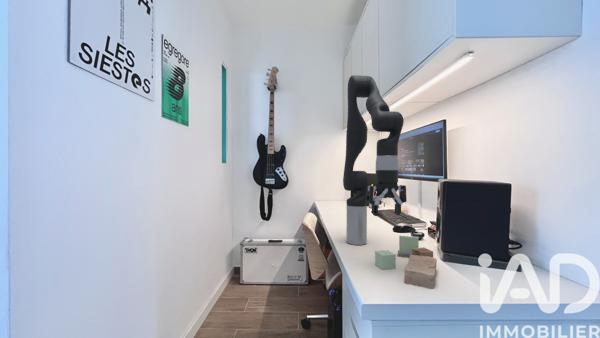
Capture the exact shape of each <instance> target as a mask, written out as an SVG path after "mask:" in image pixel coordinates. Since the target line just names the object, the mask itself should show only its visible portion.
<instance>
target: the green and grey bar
mask: <svg viewBox="0 0 600 338" xmlns="http://www.w3.org/2000/svg"><path fill="white" fill-rule="evenodd" d="M419 239H420V237H419V236H409V235H400V234H399V236H398V241H399V242H398V245H399V249H398V251H397V257H399V258H408V259H409V258H410V255H412V248H420V247H419V245H420V244H419Z"/></svg>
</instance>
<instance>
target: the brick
mask: <svg viewBox="0 0 600 338" xmlns="http://www.w3.org/2000/svg"><path fill="white" fill-rule="evenodd" d="M437 265H438V264H437V258H436V257H434V256H433V257H428V256H418V255H410V258H408V261H407V262H406V265H405V267H404V283H405V284H407V285H411V286H417V287H421V288H425V289H434V287H435V280H436V273H437Z"/></svg>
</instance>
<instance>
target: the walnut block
mask: <svg viewBox="0 0 600 338" xmlns="http://www.w3.org/2000/svg"><path fill="white" fill-rule="evenodd" d="M412 255H418V256H428V257H433V258H434V251H433V250H431V249H429V248H426V247H419V248H412Z"/></svg>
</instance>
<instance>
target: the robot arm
mask: <svg viewBox="0 0 600 338" xmlns="http://www.w3.org/2000/svg"><path fill="white" fill-rule="evenodd" d="M358 98H361V99H362V98H364V99H366V100H365V108H366V111H367V112H368V114H369V115H370V118H371V119H370V120H371V127H372V129H373V130H374V131H375V132H378V133H380V132H381V133H382V132H383V133H389V134H388V137H386V138H385V137H383V138H380V139H378V140H377V142H376V159H375V185H369V175H368V173H367V171H365V170H354V166H355V163H356V160H357V159H358V157H359V156H360V154H361V153H362V151H363V150H364V148H365V146H366V145H367V142H368V131H369V130H368V126H367V123H366V121H365V119H364V118H363V116H362V114H361V112H360V109H359V106H358V100H357V99H358ZM404 123H405V122H404V117H403V115H402V113H401V112H399V111H390V107H389V104H388V103H387V102H386V101H385V99H383V97H382V96H381V93H380V91H379V88H378V85H377V83H376V81H375V79H374V78H373V77H372V76H369V75H351V76H350V77H349V78H348V82H347V123H346V135H345V136H346V137H345V144H346V145H345V159H344V167H343V168H344V169H343V177H342V186H343V188H344V190H345V191H346V192H347V191H349V192H357V193H356V194H355V195H353V196H351V197H349V198H346V233H345V234H346V235H345V236H346V243H347V244H349V245H354V246H355V245H356V246H362V245H366V244H368V241H367V237H368V236H367V234H368V226H367V225H368V210H367V208H368V203H369V204H370V205H371V214H372V215H373V216H374V217H378V216H379V205H378V204H379V202H380V201H382V200H383V199H392V200H393V202H394V215H396V216H400V215H401V213H402V204H403V203H407V201H408V200H407V185H404V184H403V185H402V184H399V185H398V182H399V156H398V154H399V153H398V152H399V151H398V149H399V147H398V146H399V141H400V137H401V133H402V130H403V126H404ZM375 191H376V193H375ZM397 192H398V193H397ZM374 193H375V194H374Z"/></svg>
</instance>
